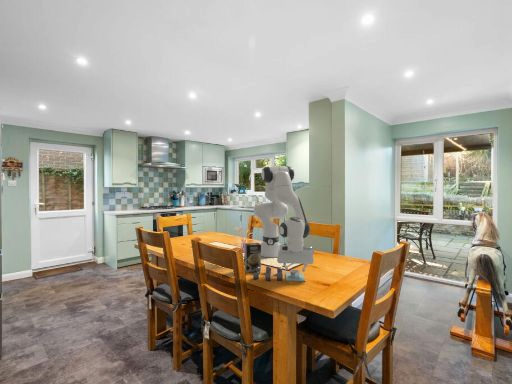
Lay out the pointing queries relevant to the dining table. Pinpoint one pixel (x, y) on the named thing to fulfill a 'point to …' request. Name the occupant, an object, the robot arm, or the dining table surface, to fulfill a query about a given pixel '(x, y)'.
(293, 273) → the grey hexagonal block
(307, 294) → the dining table surface
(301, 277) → the board
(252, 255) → the coffee box
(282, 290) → the dining table surface
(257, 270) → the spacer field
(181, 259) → the dining table surface
